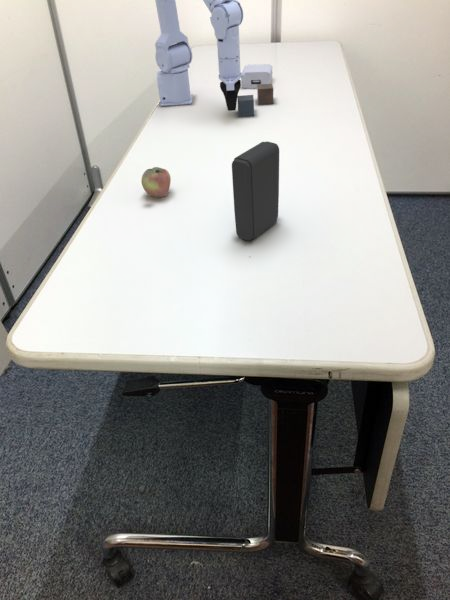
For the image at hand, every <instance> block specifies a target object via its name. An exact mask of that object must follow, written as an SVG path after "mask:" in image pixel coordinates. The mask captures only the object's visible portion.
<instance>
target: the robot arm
mask: <svg viewBox="0 0 450 600" xmlns="http://www.w3.org/2000/svg"><path fill="white" fill-rule="evenodd" d="M202 1H203V3H204V4H205V6H206V8H207V9H208V11H209V13H210V14H211V15H210V17H209V20H210V24H211V26H212V28H213V30H214V36H215V39H216V48H217V61H218V79H219V81H220V82H219V88H220V90H221V92H222V94H223V97H224V100H225V103H226V108H227V111H229V112H233V111H236V109H237V105H238V100H237V96H239V92H240V90H241V88H242V84H241V77H245V73H242V72H241V49H240V48H241V47H240V25H242V23H243V20H244V10H243V7H242V5H241V2H239V0H202ZM154 3H155V8H156V13H157V17H158V24H159V29H160V35H159V37H158V38H157V40H155V43H154V47H155V62H156V66H157V67H158V68H159V70H158V71H157V72H156V81H157V89H158V96H159V102H160V107H164V106H166V107H168V106H182V105H192V104H193V98H194V94H192V93H191V85H190V76H189V75H190V74H189V68H191V67H190V64H191V63H192V61H193V51H192V48H191V45H190V43H189V38H188V36H187V35H185V34H184V33H183V32H182V31H181V27H180V20H179V14H178V9H177V2H176V0H154Z"/></svg>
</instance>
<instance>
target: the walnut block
mask: <svg viewBox="0 0 450 600" xmlns="http://www.w3.org/2000/svg"><path fill="white" fill-rule="evenodd" d="M256 95H257V97H256V99H257V105H258V106H262V105H263V106H264V105H274V85H273V83H271V84H259V85H257V88H256Z"/></svg>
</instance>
